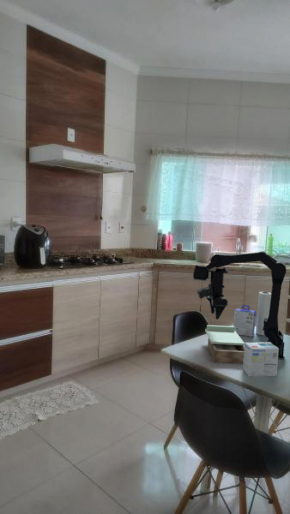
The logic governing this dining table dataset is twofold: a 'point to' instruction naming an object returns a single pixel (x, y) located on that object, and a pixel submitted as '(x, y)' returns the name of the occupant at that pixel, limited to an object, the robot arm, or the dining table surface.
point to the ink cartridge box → (244, 321)
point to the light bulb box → (260, 359)
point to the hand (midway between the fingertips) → (214, 316)
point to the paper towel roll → (262, 311)
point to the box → (226, 353)
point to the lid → (223, 335)
